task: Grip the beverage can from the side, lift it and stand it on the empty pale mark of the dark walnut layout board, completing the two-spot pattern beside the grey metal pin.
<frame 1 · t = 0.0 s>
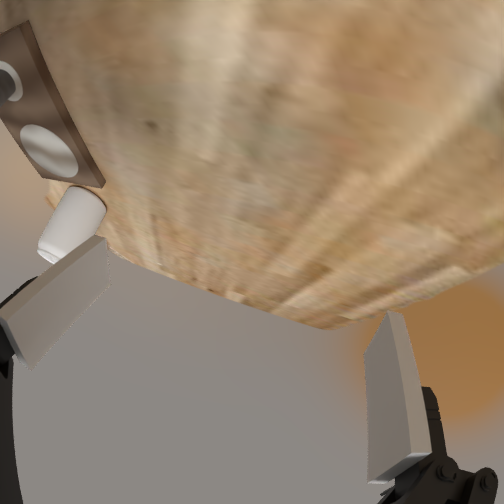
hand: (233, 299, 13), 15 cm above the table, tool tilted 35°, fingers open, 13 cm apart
beverage can: (88, 197, 43), on the table
layout board: (34, 115, 26), on the table
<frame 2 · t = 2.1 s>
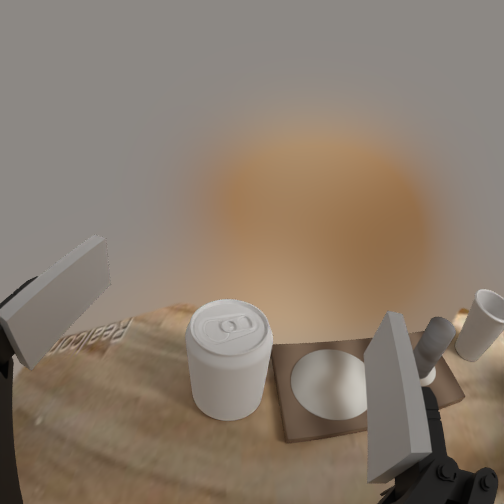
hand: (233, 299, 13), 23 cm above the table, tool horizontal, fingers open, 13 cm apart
beverage can: (227, 395, 32), on the table
dixie cup: (466, 350, 38), on the table
layout board: (373, 381, 34), on the table
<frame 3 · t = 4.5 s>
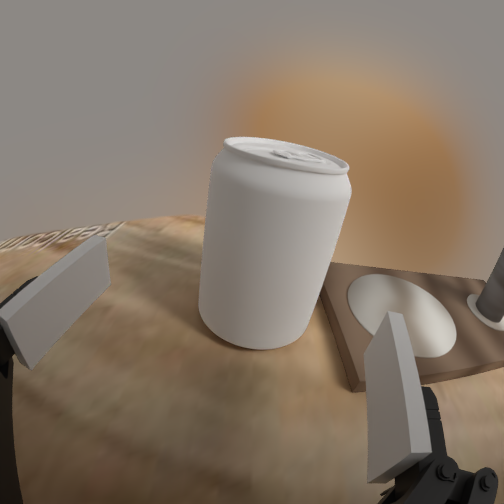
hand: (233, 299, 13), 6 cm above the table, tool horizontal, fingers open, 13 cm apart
beverage can: (252, 316, 22), on the table
layout board: (444, 321, 24), on the table
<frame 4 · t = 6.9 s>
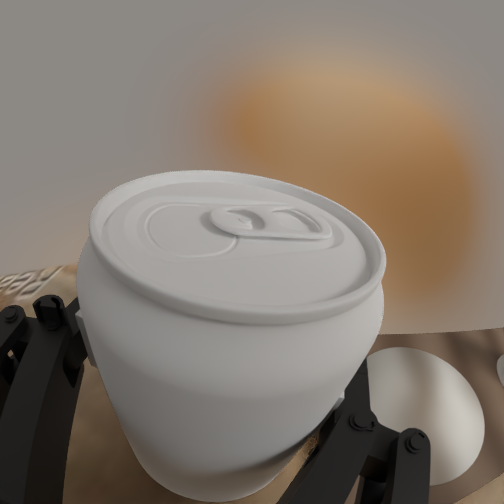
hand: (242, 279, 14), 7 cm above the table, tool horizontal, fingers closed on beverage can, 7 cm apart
beverage can: (209, 435, 13), on the table, touching gripper
layout board: (469, 403, 15), on the table
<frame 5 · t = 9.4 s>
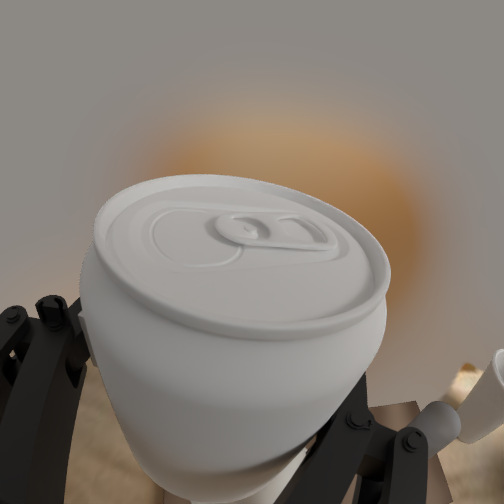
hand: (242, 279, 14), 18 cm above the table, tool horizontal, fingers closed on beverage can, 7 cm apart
beverage can: (208, 437, 13), point 11 cm above the table, touching gripper
dixie cup: (466, 426, 24), on the table
layout board: (319, 479, 20), on the table
when the fingers open (9 cm above the table, at t = 12.2 s): beverage can stays where it is, resting on layout board.
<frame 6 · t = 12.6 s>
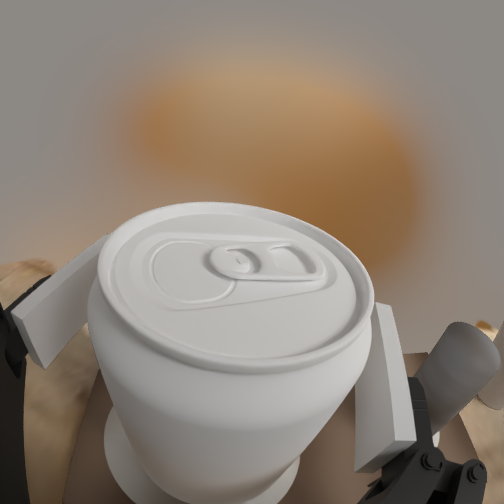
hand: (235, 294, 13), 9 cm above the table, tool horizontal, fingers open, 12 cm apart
beverage can: (210, 445, 14), point 1 cm above the table, touching layout board
dixie cup: (490, 389, 19), on the table
layout board: (301, 449, 15), on the table
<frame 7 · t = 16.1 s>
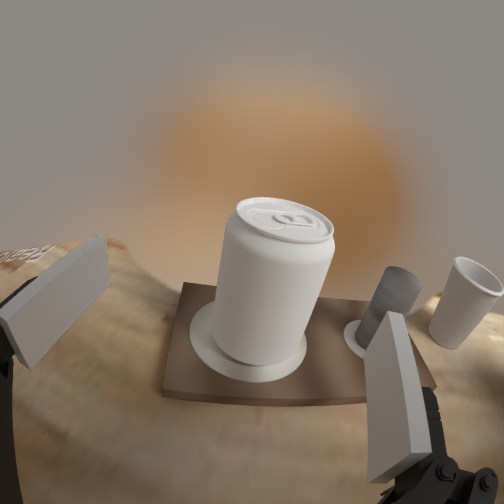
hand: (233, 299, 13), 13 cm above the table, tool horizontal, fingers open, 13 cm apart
beverage can: (254, 337, 27), point 1 cm above the table, touching layout board
dixie cup: (443, 335, 33), on the table
layout board: (306, 347, 28), on the table
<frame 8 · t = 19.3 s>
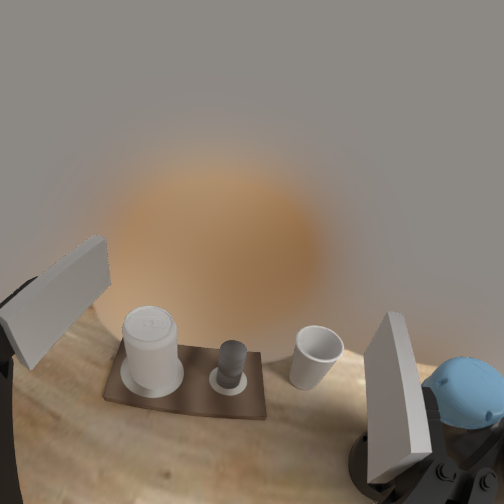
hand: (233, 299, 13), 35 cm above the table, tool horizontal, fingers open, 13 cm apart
beverage can: (154, 372, 45), point 1 cm above the table, touching layout board
dixie cup: (303, 378, 51), on the table
layout board: (186, 380, 46), on the table
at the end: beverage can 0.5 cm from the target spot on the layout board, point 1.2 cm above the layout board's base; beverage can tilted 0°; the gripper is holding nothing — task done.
